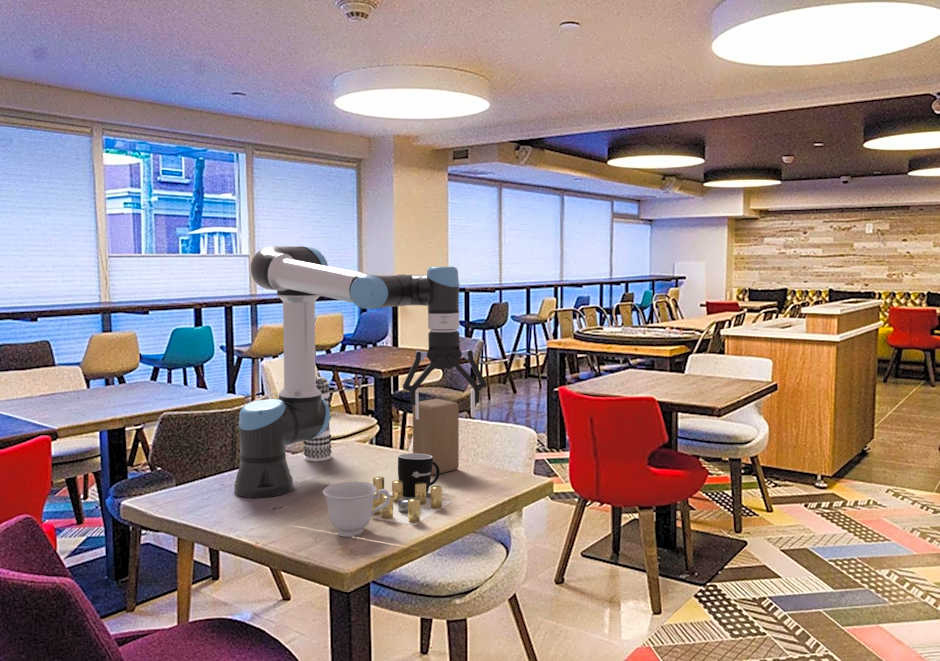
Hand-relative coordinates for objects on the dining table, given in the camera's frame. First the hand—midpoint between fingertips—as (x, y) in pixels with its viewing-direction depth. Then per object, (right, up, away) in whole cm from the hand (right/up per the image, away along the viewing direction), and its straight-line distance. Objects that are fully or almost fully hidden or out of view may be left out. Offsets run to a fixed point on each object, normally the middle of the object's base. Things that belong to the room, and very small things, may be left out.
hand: (445, 417), depth 185 cm
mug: (-7, -22, +13) cm, 26 cm away
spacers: (-12, -22, +1) cm, 26 cm away
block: (-4, -20, +37) cm, 42 cm away
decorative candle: (-41, -18, +51) cm, 68 cm away
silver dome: (-9, -23, 0) cm, 24 cm away
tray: (-13, -23, +3) cm, 26 cm away
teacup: (-19, -24, -14) cm, 34 cm away
